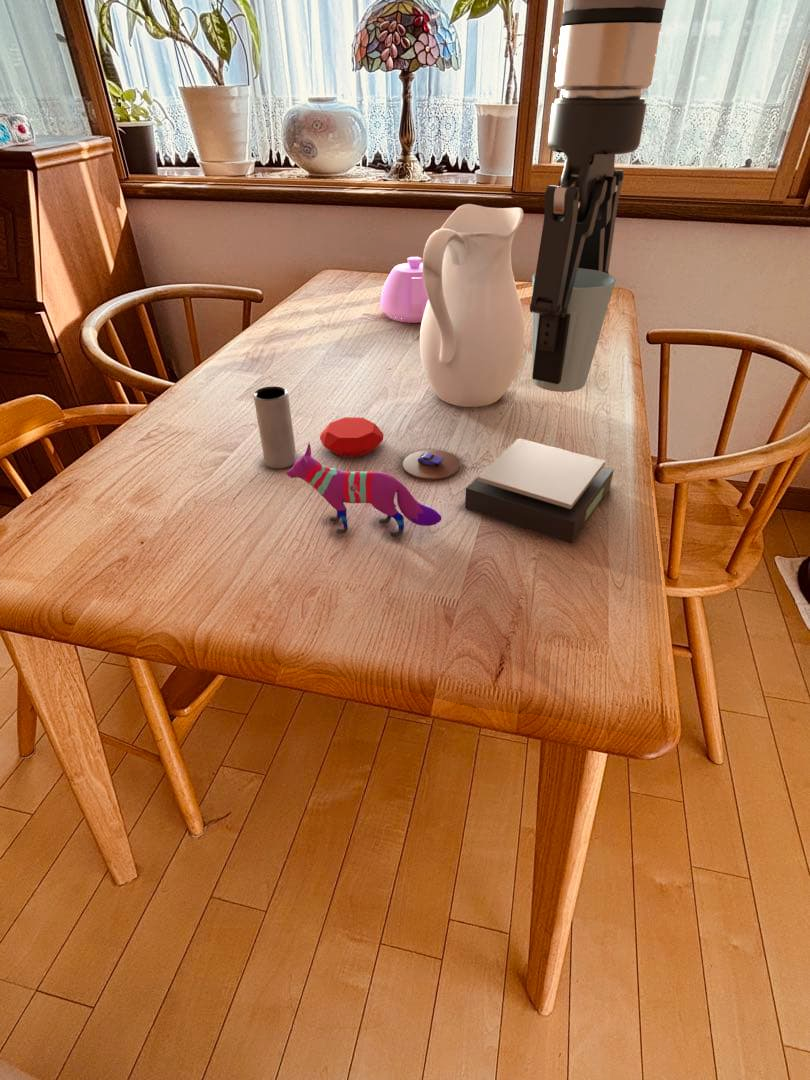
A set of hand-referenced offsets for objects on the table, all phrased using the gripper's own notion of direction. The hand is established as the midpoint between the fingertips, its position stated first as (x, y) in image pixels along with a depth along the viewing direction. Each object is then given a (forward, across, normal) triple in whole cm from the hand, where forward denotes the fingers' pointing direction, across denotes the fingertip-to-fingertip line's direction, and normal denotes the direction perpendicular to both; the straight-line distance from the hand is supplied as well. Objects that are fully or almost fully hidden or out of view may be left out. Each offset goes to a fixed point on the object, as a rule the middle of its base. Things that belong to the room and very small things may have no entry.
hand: (560, 366), depth 64 cm
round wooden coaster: (+20, -5, -18) cm, 27 cm away
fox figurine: (+20, +12, -17) cm, 29 cm away
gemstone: (+20, -4, -31) cm, 37 cm away
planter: (+20, +5, -37) cm, 42 cm away
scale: (+20, -5, -2) cm, 20 cm away
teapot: (+20, -63, -56) cm, 87 cm away
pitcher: (+20, -26, -25) cm, 41 cm away
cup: (+2, 0, 0) cm, 2 cm away
